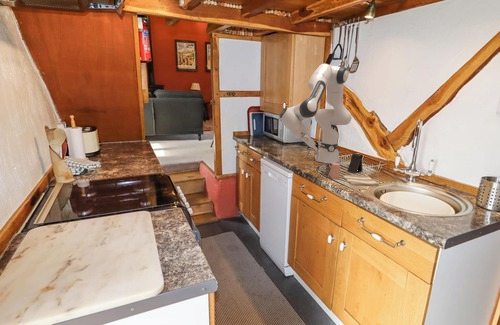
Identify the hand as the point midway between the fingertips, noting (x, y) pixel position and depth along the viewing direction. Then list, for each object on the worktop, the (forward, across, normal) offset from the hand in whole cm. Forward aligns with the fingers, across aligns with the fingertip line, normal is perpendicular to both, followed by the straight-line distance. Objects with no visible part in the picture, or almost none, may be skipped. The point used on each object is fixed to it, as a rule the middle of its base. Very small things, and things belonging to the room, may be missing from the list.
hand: (314, 148), depth 168 cm
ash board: (+32, -5, -7) cm, 34 cm away
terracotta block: (+23, 0, +3) cm, 23 cm away
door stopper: (+36, +16, -11) cm, 41 cm away
